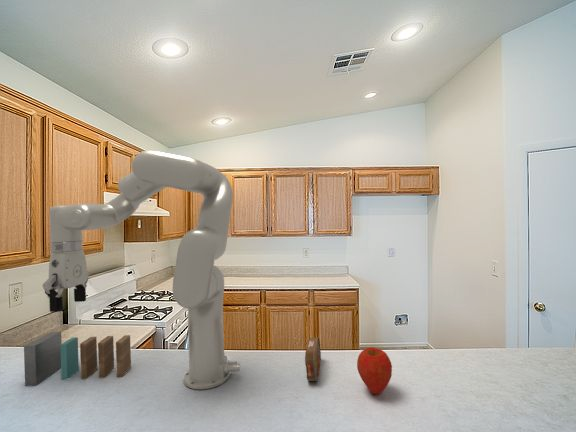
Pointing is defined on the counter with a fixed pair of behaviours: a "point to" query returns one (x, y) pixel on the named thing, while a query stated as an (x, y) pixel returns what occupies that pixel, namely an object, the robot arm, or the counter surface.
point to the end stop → (42, 358)
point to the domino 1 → (69, 358)
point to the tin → (313, 359)
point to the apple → (374, 369)
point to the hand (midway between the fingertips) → (68, 306)
